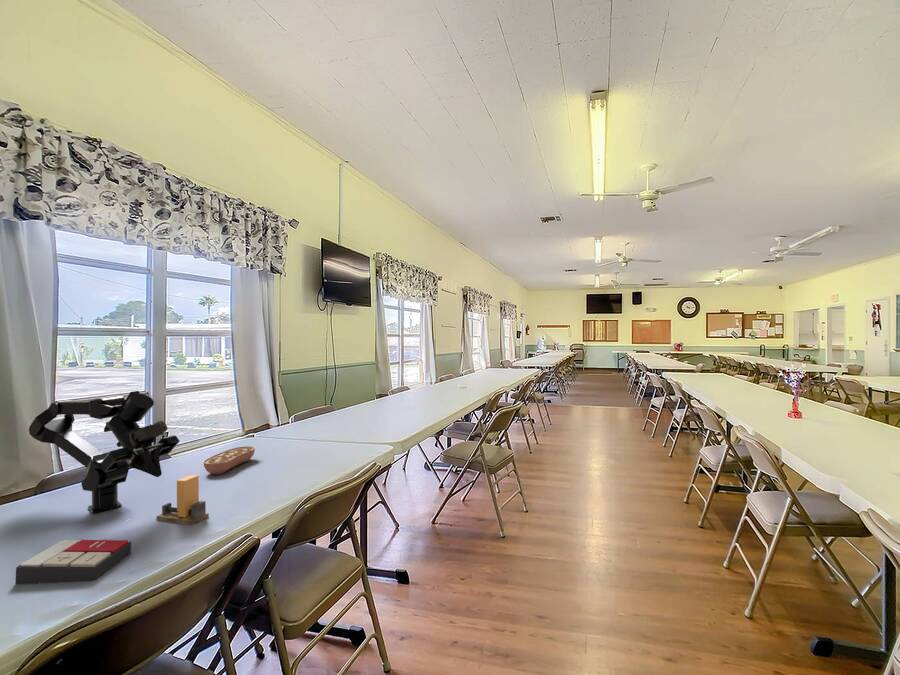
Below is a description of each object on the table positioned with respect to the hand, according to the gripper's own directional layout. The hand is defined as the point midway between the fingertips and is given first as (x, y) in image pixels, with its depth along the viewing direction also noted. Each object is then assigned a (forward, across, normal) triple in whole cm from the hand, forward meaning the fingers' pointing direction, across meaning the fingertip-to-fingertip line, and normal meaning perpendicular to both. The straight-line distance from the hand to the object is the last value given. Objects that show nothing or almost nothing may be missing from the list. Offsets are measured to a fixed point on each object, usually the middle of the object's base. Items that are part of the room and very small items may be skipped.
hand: (159, 475), depth 115 cm
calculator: (+13, -25, +3) cm, 28 cm away
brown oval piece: (-2, +40, +18) cm, 44 cm away
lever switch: (+13, 0, +2) cm, 13 cm away
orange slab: (+13, 0, 0) cm, 13 cm away
